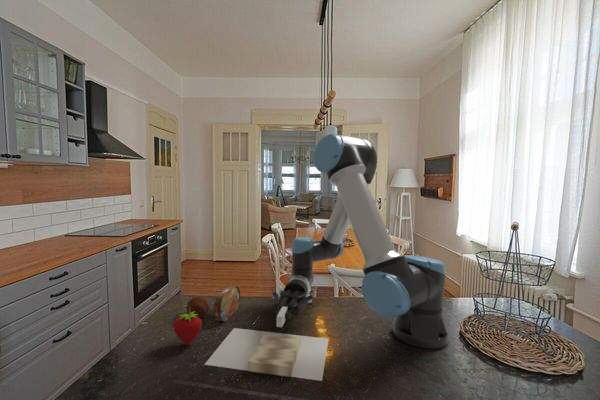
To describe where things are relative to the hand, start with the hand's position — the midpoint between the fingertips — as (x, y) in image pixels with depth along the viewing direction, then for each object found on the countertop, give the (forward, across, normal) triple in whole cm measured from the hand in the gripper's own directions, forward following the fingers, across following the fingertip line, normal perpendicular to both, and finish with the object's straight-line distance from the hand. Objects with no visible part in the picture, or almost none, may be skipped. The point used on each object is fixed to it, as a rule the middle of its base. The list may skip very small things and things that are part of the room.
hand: (279, 321), depth 78 cm
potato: (-14, +31, -8) cm, 35 cm away
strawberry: (+2, +25, -8) cm, 26 cm away
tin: (-17, +22, -8) cm, 29 cm away
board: (-3, 0, -6) cm, 7 cm away
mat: (+1, +2, -8) cm, 8 cm away
